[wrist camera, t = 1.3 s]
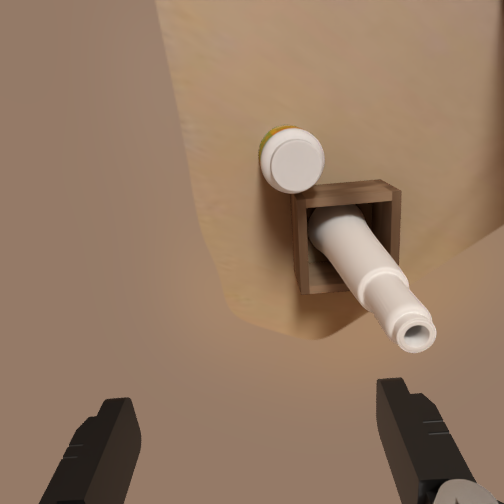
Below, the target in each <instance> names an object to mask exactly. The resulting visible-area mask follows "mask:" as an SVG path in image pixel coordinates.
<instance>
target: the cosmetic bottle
mask: <svg viewBox="0 0 504 504" xmlns="http://www.w3.org/2000/svg"><path fill="white" fill-rule="evenodd" d="M308 236H309V239H310V241H311V243H312V244H313V245H314V247H315V248H317V249H318V250H319V251H321V252H322V253H323V254H324V255H325V256H326V257H327V258H328V260H329V261H330V262H331V263H332V265H333V266H334V268H335V269H336V270H337V272H338V273H339V275H340V276H341V278H342V279H343V281H344V282H345V284H346V285H347V287H348V288H349V289H350V291H351V292H352V294H353V295H354V296H355V298H356V299H357V300H358V302H359V303H360V304H361V305H362V307H363V308H365V309H366V310H367V311H369V312H372V313H373V314H374V315H375V317H376V319H377V320H378V322H379V324H380V325H381V327H382V329H383V330H384V332H385V333H386V335H387V337H388V338H389V339H390V340H391V341H393V342H394V343H395V344H397V345H399V347H400V348H401V349H402V350H404V351H406V352H409V353H418V352H422V351H424V350H426V349H428V348H429V347H430V346H431V345H432V344H433V342H434V341H435V338H436V328H435V326H434V324H433V323H432V317H431V315H430V313H429V311H428V310H427V309H426V307H425V306H424V305H423V304H422V303H421V302H420V301H419V300H418V298H417V297H416V296H415V295H414V294H413V293H412V292H411V291H410V290H409V282H408V279H407V278H406V276H405V274H404V273H403V272H402V270H401V269H400V268H399V266H398V265H397V263H396V262H395V261H394V260H393V258H392V257H391V256H390V254H389V253H388V252H387V251H386V249H385V248H384V247H383V246H382V244H381V243H380V242H379V241H378V239H377V238H376V237H375V235H374V234H373V233H372V231H371V230H370V228H369V227H368V225H367V223H366V221H365V218H364V215H363V213H362V211H361V210H360V209H359V207H357V206H356V205H355V204H348V205H336V206H324V207H317V208H316V209H315V210H314V212H313V213H312V215H311V216H310V219H309V222H308Z"/></svg>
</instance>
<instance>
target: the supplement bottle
mask: <svg viewBox="0 0 504 504" xmlns="http://www.w3.org/2000/svg"><path fill="white" fill-rule="evenodd" d="M259 162H260V166H261V170H262V173H263V175H264V177H265V179H266V181H267V182H268V183H269V184H270V185H271V186H272V187H273V188H275V189H276V190H278V191H281V192H284V193H290V194H294V193H300V192H303V191H305V190H307V189H309V188H310V187H312V186H313V185H314V184H315V183H316V182H317V181H318V179H319V178H320V176H321V174H322V172H323V169H324V163H325V157H324V152H323V149H322V146H321V144H320V143H319V141H318V140H317V139H316V138H315V137H314V136H313V135H312V134H311V133H309V132H307V131H305V130H303V129H301V128H299V127H296V126H292V125H281V126H278V127H275V128H273V129H272V130H270V131H269V132H268V133H267V134H266V135H265V136H264V138H263V139H262V141H261V144H260V147H259Z"/></svg>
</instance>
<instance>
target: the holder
mask: <svg viewBox="0 0 504 504" xmlns="http://www.w3.org/2000/svg"><path fill="white" fill-rule="evenodd" d="M290 198H291V216H292V235H293V253H294V271H295V275H296V278H297V282H298V285H299V288H300V292H301V295H304V294H316V293H328V292H340V291H350V289H349V288H348V287H347V285H346V284H345V282H344V281H343V279H342V278H341V276H340V275H339V273H338V272H337V270H336V269H335V268H334V266H333V265H332V263H331V262H330V261H327V262H315V263H308V241H307V217H306V208H312V207H324V206H336V205H348V204H359V203H371V202H372V233H373V234H374V235H375V237H376V238H377V239H378V241H379V242H380V243H381V244H382V246H383V247H384V248H385V249H386V251H387V252H388V253H389V254H390V256H391V257H392V258H393V260H394V261H395V262H396V263H397V265H398V266H399V247H400V219H401V190H399V189H397V188H395V187H393V186H392V185H390V184H388V183H386V182H384V181H382V180H369V181H358V182H346V183H334V184H323V185H313V186H312V187H310V188H309V189H307V190H305V191H303V192H300V193H294V194H290Z"/></svg>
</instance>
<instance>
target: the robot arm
mask: <svg viewBox="0 0 504 504" xmlns="http://www.w3.org/2000/svg"><path fill="white" fill-rule="evenodd" d="M376 397H377V398H376V400H377V401H376V403H377V404H376V418H377V426H378V431H379V435H380V439H381V441H382V444H383V447H384V451H385V454H386V457H387V460H388V463H389V466H390V469H391V472H392V475H393V478H394V481H395V484H396V487H397V490H398V493H399V496H400V499H401V502H402V504H504V503H502V502H500V501H498V500H496V499H495V498H494V497H493V495H492V494H491V493H490V492H489V491H488V490H486V489H485V488H484V487H482V486H480V485H479V484H477V482H476V481H475V479H474V477H473V476H472V474H471V472H470V470H469V468H468V466H467V464H466V462H465V460H464V459H463V457H462V455H461V453H460V451H459V449H458V447H457V445H456V443H455V442H454V440H453V438H452V436H451V434H449V430H448V428H447V426H446V424H445V423H444V422H443V419H442V417H441V415H440V413H439V411H438V409H437V407H436V405H435V404H434V403H432V402H431V401H430V400H429V399H428V398H427V397H426V396H424V395H423V394H422V393H419V394H410V393H409V391H408V389H407V386H406V384H405V383H404V380H403V379H402V378H387V379H378V380H377V395H376ZM140 448H141V432H140V428H139V425H138V421H137V418H136V414H135V411H134V408H133V404H132V401H131V399H130V398H114V399H106V400H105V401H104V402H103V404H102V406H101V408H100V410H99V412H98V415H97V416H95V417H89V418H88V419H87V420H86V421H85V422H84V423H83V424H82V425H81V426H80V427H79V428H78V429H77V430H76V432H75V434H74V436H73V438H72V440H71V442H70V444H69V447H68V448H67V449H66V452H65V454H64V455H63V459H62V460H61V461H60V463H59V465H58V467H57V469H56V471H55V473H54V475H53V477H52V479H51V481H50V483H49V485H48V487H47V489H46V491H45V493H44V494H43V496H42V498H41V501H40V502H39V504H124V501H125V497H126V494H127V491H128V488H129V485H130V481H131V478H132V475H133V472H134V469H135V466H136V462H137V459H138V456H139V453H140Z"/></svg>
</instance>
